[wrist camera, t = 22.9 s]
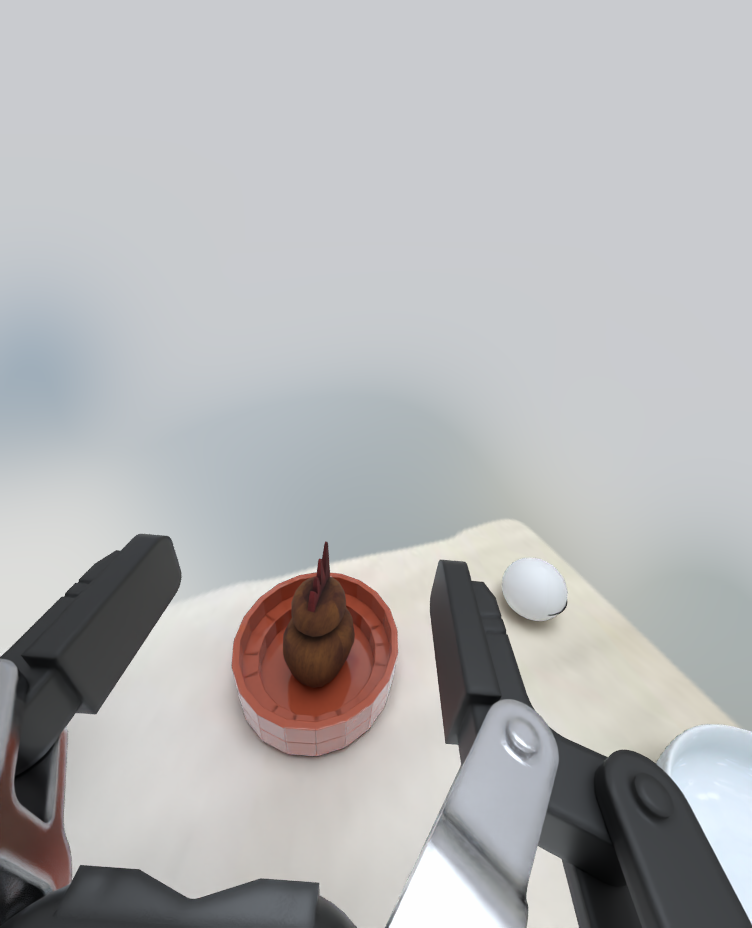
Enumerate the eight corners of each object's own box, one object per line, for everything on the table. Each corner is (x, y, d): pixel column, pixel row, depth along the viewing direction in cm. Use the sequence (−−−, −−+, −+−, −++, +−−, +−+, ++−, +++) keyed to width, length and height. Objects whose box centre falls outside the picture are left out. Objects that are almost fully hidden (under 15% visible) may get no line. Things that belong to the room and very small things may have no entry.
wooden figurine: (320, 624, 38) (319, 521, 30) (361, 653, 35) (371, 549, 28) (274, 675, 33) (259, 567, 25) (318, 713, 30) (316, 607, 23)
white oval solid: (528, 645, 39) (550, 603, 35) (483, 595, 44) (497, 555, 40) (581, 613, 43) (605, 573, 39) (534, 571, 48) (551, 533, 45)
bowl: (211, 752, 28) (199, 721, 25) (268, 598, 41) (264, 567, 38) (392, 766, 28) (399, 737, 25) (391, 608, 41) (396, 577, 38)
